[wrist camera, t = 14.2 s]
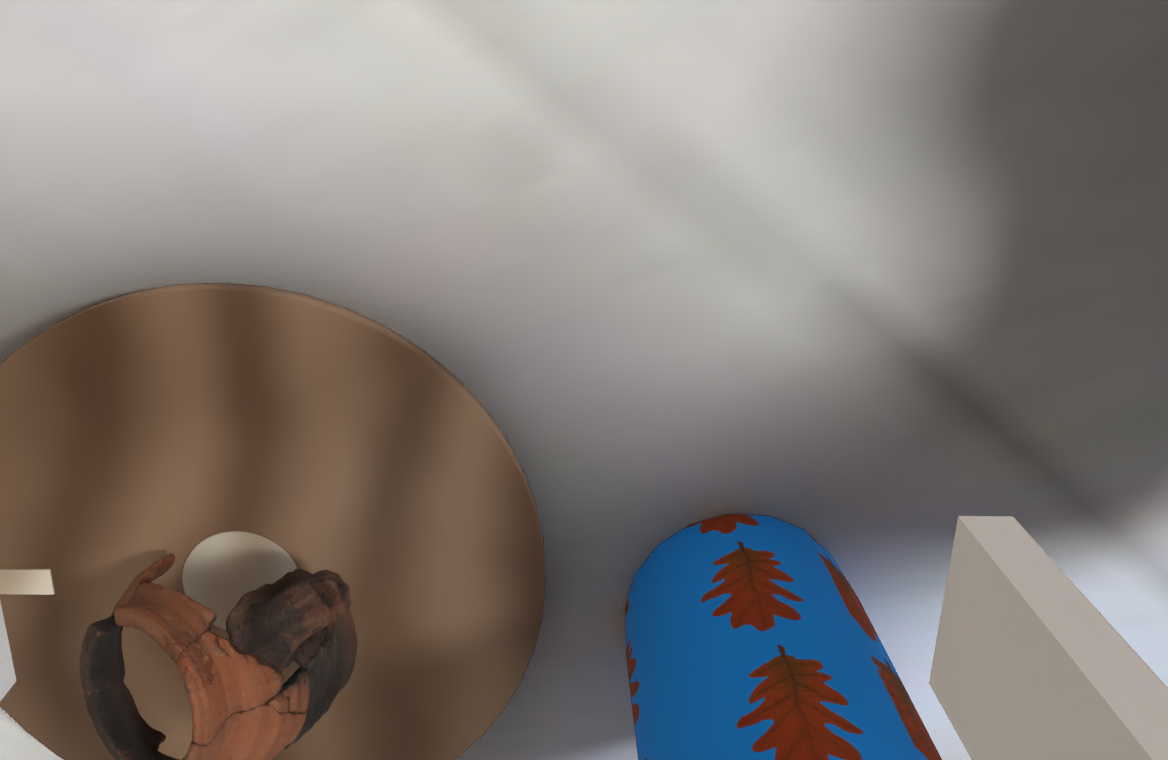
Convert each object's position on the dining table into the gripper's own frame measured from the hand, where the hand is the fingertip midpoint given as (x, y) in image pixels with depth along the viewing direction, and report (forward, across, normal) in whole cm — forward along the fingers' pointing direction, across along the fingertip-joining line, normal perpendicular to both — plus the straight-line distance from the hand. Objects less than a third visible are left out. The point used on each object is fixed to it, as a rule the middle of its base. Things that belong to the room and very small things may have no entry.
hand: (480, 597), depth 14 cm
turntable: (+27, +12, +16) cm, 34 cm away
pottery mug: (+26, +11, +17) cm, 33 cm away
